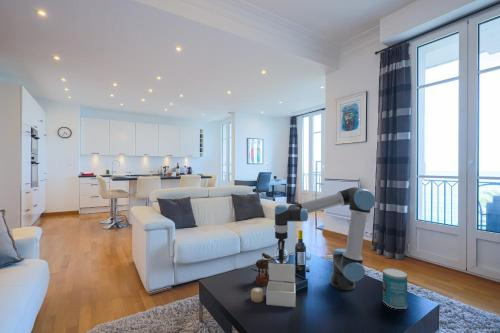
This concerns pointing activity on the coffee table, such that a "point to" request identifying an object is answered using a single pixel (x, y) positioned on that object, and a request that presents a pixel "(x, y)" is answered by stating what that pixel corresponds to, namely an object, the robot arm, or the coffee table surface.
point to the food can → (395, 288)
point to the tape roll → (257, 295)
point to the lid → (281, 272)
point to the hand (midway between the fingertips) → (281, 270)
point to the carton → (280, 294)
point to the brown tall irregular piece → (263, 264)
